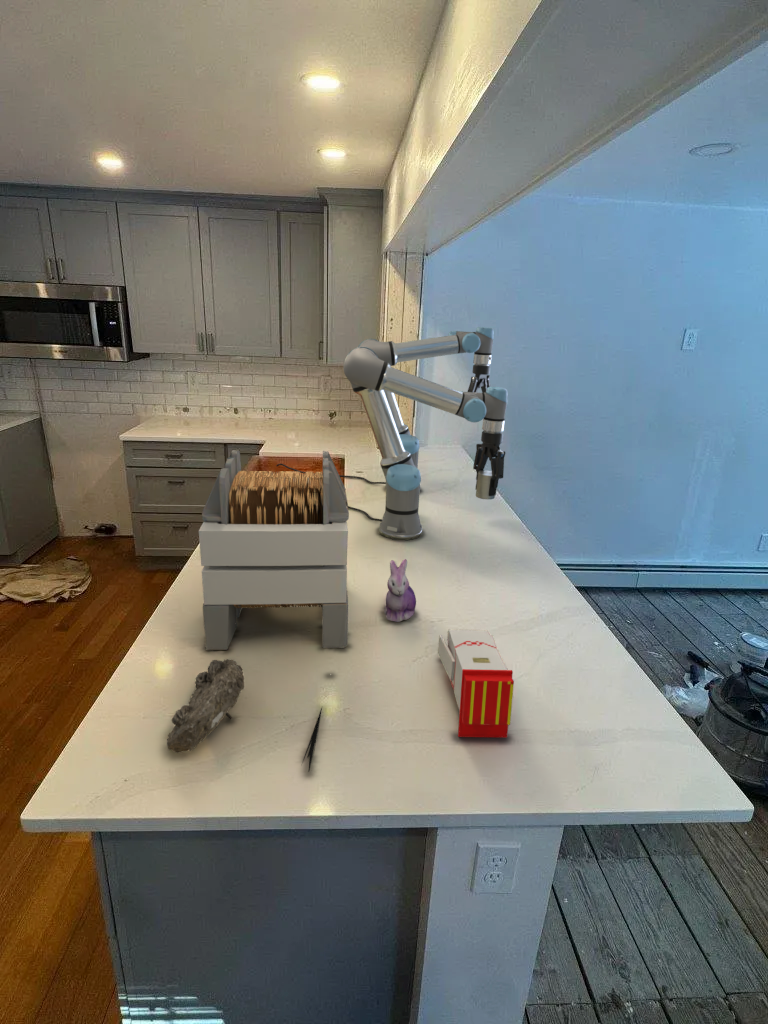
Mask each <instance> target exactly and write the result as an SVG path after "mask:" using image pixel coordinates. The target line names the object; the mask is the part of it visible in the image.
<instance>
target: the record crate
mask: <svg viewBox="0 0 768 1024" xmlns="http://www.w3.org/2000/svg"><path fill="white" fill-rule="evenodd" d="M241 463H242V462H241V453H240V449H238V450H236V449H232V450H231V452H230V454H229V456H228V457H227V458H226V461H225V463H224V465H223V467H222V468H220V471H219V473H218V475H217V478H216V480H215V482H214V484H213V487H212V489H211V491H210V494H209V496H208V498H207V500H206V503H205V505H204V507H203V509H202V512H201V519H202V521H203V522H202V524H201V526H200V528H199V529H198V537H199V538H198V540H199V555H200V566H201V567H203V568H202V570H201V580H202V597H203V603H202V617H203V618H202V619H203V629H204V638H205V646H204V648H205V651H213V650H216V651H217V650H224V651H226V650H228V649H229V647H230V645H231V642H232V639H233V638H234V635H235V632H236V630H237V627H238V620H237V619H239V618H240V617H241V612H242V609H244V608H245V609H251V608H252V609H261V608H263V609H266V608H267V609H268V608H278V609H279V608H297V607H298V608H311V607H312V608H316V607H318V608H321V616H322V619H321V620H322V621H321V622H322V625H321V626H322V627H321V629H322V630H321V631H322V635H321V636H322V637H321V639H322V648H323V649H324V648H325V649H329V648H330V649H331V648H332V649H333V648H336V649H337V648H338V649H345V648H346V647H347V646H348V645H349V644H348V643H349V642H348V641H349V597H348V587H347V586H348V585H347V584H348V566H347V565H348V548H349V547H348V546H349V544H348V543H349V542H348V541H349V528H348V522H347V521H348V520H349V518H350V510H349V508H348V506H349V505H348V498H347V491H346V490H347V489H346V487H345V485H344V482H343V481H342V477H340V476H339V475H340V474H339V472H338V469H337V467H336V466H335V463H334V460H333V458H332V457H331V454H330V452H329V450H328V451H327V450H323V451H322V471H315V472H314V471H305V472H306V473H305V474H304V473H300V472H297V471H294V470H292V471H287V470H286V471H284V470H282V471H276V472H275V471H272V470H269V471H267V470H259V471H258V470H249V471H248V470H242V466H241ZM314 473H315V474H314Z"/></svg>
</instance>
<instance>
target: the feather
mask: <svg viewBox="0 0 768 1024" xmlns="http://www.w3.org/2000/svg"><path fill="white" fill-rule="evenodd" d="M329 675H330V676H331V675H332V674H331V673H330V674H329ZM322 710H323V707H321V708H320V710H319V713H318V716H317V719H316V723H315V725H314V728H313V731H312V733H311V737H310V739H309V742H308V745H307V748H306V751H305V754H304V757H303V760H302V763H301V767H302V765H303V763H304V761H305V758H308V759H309V760H308V762H307V763H308V764H307V766H308V771H310V770H311V766H312V765H311V764H312V760H313V757H315V756H314V755H315V751H316V749H315V746H317V739H318V733H319V729H320V722H321V717H322V712H323V711H322ZM313 754H314V755H313ZM306 755H307V757H306Z"/></svg>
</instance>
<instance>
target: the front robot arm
mask: <svg viewBox="0 0 768 1024" xmlns="http://www.w3.org/2000/svg"><path fill="white" fill-rule="evenodd" d="M343 374H344V376H345V378H346V379H347V380H348V381H349V383H350V386H351V388H352V391H353V393H354V394H356V395H358V396H359V397H360V400H361V403H362V406H363V409H364V411H365V414H366V417H367V420H368V422H369V425H370V428H371V431H372V433H373V436H374V439H375V441H376V445H377V447H378V450H379V453H380V455H381V460H380V462H379V466H380V468H381V470H382V473H383V476H384V478H385V482H386V484H385V504H384V505H385V507H384V508H385V509H384V513H383V515H382V519H381V518H376V517H372V516H370V515H369V513H368V512H367V511H365V510H362V509H360V508H356V507H354V506H353V507H352V506H349V505H348V510H349V509H350V510H352V511H357V512H360V513H362V514H363V515H365V516H366V517H367V518H368V519H369V520H372V521H376V522H379V525H378V533H379V534H380V535H381V536H382V537H385V538H387V539H389V540H395V541H410V540H415V539H418V538H420V537H421V536H422V535H423V525H422V524H421V518H420V515H419V507H420V506H419V505H420V504H419V503H420V492H421V483H422V475H421V471H420V469H419V468H416V467H415V465H414V463H413V460H412V457H411V455H410V452H408V451H406V450H404V447H403V444H402V441H401V438H400V436H399V433H398V430H397V427H396V424H395V421H394V418H393V415H392V412H391V410H390V407H389V404H388V401H387V398H386V395H385V392H384V390H386V391H389V392H392V393H394V395H398V396H400V397H403V398H406V399H409V400H412V401H415V402H417V403H421V404H424V405H426V406H430V407H432V408H435V409H438V410H441V411H444V412H446V413H448V414H449V413H450V414H451V415H455V416H457V417H460V418H463V419H465V420H466V421H467V422H470V423H479V422H481V421H482V427H481V430H482V431H481V437H480V441H481V443H476V446H475V448H476V449H475V456H474V460H473V465H472V466H473V467H472V469H473V470H475V472H476V476H475V480H476V482H475V489H476V488H477V479H478V472H479V471H483V470H485V468H486V465H487V462H488V460H489V461H490V471H492V478H491V480H490V488H489V496H495V497H496V495H497V490H498V486H499V479H503V478H504V470H505V457H506V451H505V450H504V451H502V450H501V444H502V443H503V439H504V433H503V432H504V431H505V429H504V428H505V422H506V421H505V420H506V413H507V406H508V396H509V395H508V394H509V392H508V389H506V388H505V387H501V386H490V387H488V388H487V391H486V393H482V392H477V393H475V392H468V391H463V390H462V391H461V390H460V391H458V390H456V389H453V388H450V387H448V386H445V385H442V384H439V383H436V382H433V381H431V380H428V379H425V378H422V377H420V376H417V375H414V374H411V373H408V372H406V371H403V370H400V369H398V368H394V367H393V366H390V364H389V363H388V362H385V361H382V360H380V359H379V358H378V356H377V355H376V353H375V352H374V351H373V350H371V349H369V348H367V347H359V348H358V347H355V348H353V349H352V350H350V351H349V352H348V353H347V356H346V357H345V359H344V361H343ZM495 475H496V476H495Z"/></svg>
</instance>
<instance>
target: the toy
mask: <svg viewBox="0 0 768 1024" xmlns="http://www.w3.org/2000/svg"><path fill="white" fill-rule="evenodd" d="M446 640H447V643H446V641H445V639H444V636H443V635H442V634H439V637H438V646H437V656H438V657H439V659H440V661H441V663H442V666H443V668H444V670H445V672H446V674H447V677H448V679H449V681H450V684H451V687H452V690H453V693H454V697H455V701H456V705H457V708H458V711H459V714H458V715H459V716H458V730H457V731H458V732H457V737H458V738H508V731H509V726H510V725H511V717H512V707H513V697H514V696H513V695H514V684H515V680H514V679H513V673H514V671H513V670H512V669H508V667H507V665H506V662H505V661H504V659H503V658H502V655H501V653H500V651H499V649H498V647H497V643H496V639H495V637H494V635H493V634H491V632H490V631H489V629H467V628H466V629H465V628H463V629H461V628H460V629H459V628H448V630H447V639H446Z"/></svg>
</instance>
